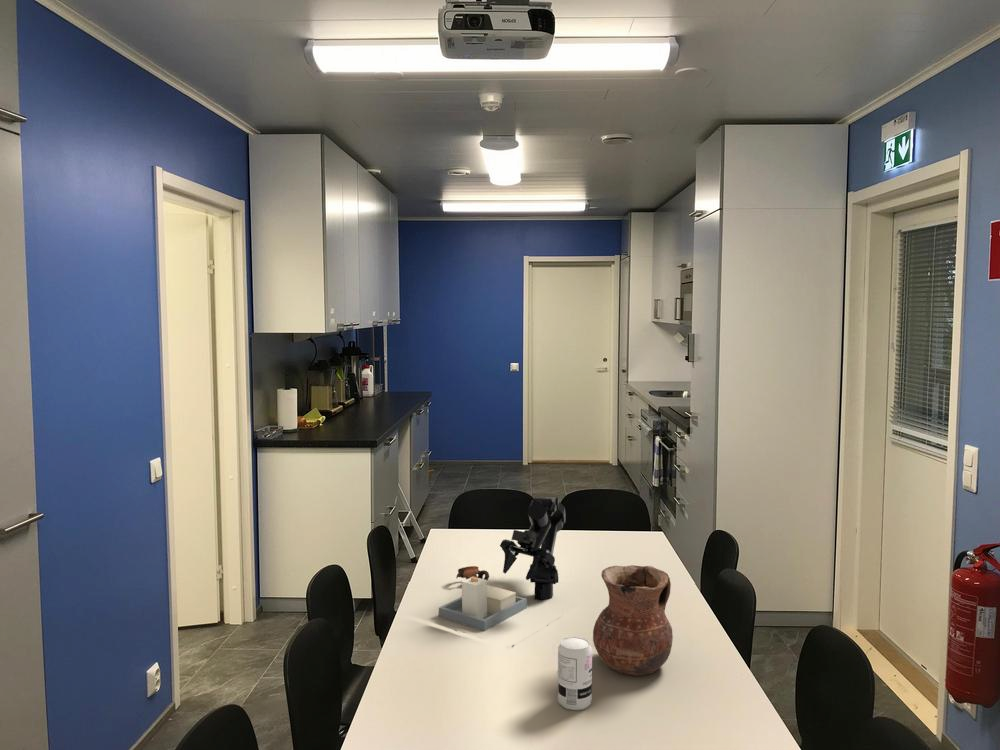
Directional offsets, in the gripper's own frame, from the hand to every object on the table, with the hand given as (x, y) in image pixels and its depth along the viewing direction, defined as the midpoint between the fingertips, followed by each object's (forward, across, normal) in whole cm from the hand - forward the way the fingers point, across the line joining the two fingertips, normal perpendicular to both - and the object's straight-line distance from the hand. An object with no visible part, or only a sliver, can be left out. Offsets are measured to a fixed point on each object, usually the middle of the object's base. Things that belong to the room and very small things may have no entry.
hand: (515, 576), depth 232 cm
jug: (+12, +44, +8) cm, 46 cm away
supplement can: (+31, +44, -12) cm, 55 cm away
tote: (+13, -9, +6) cm, 17 cm away
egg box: (+9, -10, +9) cm, 16 cm away
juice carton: (+15, -9, +2) cm, 18 cm away
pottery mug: (+2, -29, +18) cm, 34 cm away
